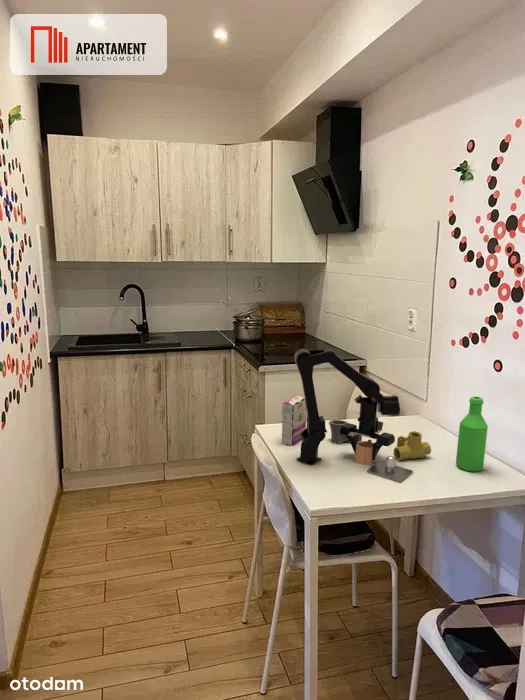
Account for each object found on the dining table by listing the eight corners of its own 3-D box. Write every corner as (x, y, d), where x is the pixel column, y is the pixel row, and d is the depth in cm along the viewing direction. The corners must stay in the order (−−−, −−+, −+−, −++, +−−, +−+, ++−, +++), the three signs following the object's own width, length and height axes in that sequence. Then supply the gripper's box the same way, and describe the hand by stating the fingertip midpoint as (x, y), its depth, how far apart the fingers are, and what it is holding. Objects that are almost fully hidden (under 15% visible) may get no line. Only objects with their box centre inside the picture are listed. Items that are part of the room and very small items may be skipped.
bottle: (466, 473, 173) (473, 402, 168) (450, 463, 181) (457, 394, 176) (488, 471, 175) (496, 400, 170) (471, 461, 183) (479, 393, 179)
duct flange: (400, 483, 165) (401, 466, 164) (366, 472, 172) (367, 456, 171) (412, 472, 173) (414, 456, 171) (379, 463, 180) (381, 447, 179)
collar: (368, 465, 177) (370, 447, 176) (352, 460, 181) (353, 442, 180) (377, 460, 182) (378, 442, 181) (361, 455, 186) (362, 437, 185)
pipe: (362, 445, 196) (363, 425, 195) (328, 444, 196) (329, 424, 195) (359, 439, 202) (360, 419, 201) (327, 438, 202) (328, 418, 201)
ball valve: (431, 460, 185) (414, 447, 194) (434, 435, 182) (418, 422, 191) (400, 466, 181) (385, 452, 190) (403, 441, 178) (388, 427, 187)
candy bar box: (294, 434, 205) (296, 395, 202) (305, 437, 202) (307, 397, 199) (280, 443, 196) (282, 401, 192) (292, 446, 193) (293, 404, 190)
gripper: (403, 415, 179) (399, 457, 182) (355, 404, 190) (352, 444, 193) (389, 423, 170) (385, 467, 173) (339, 411, 182) (337, 452, 185)
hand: (365, 457), depth 181 cm, fingers closed on collar, 6 cm apart
